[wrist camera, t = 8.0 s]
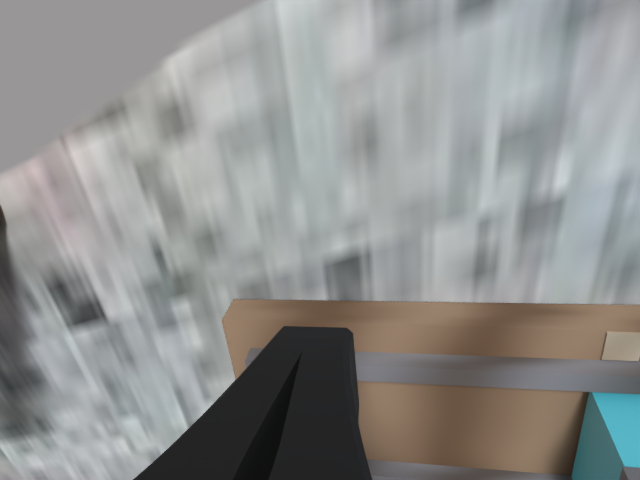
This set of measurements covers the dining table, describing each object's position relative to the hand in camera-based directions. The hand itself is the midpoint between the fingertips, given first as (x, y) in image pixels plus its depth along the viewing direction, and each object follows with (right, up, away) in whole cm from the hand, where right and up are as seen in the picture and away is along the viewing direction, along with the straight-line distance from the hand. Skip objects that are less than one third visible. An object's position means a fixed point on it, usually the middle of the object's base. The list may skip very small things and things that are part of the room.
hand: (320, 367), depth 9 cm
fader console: (+7, -4, +12) cm, 14 cm away
